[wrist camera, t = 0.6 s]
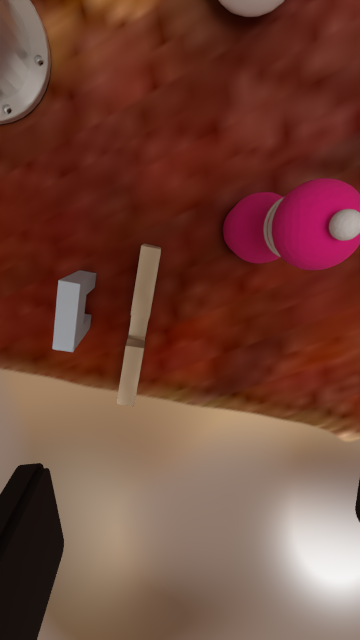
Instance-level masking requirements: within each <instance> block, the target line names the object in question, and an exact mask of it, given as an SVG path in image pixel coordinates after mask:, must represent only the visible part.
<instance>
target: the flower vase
mask: <svg viewBox="0 0 360 640" xmlns="http://www.w3.org/2000/svg"><path fill="white" fill-rule="evenodd" d="M218 1H219V2H220V3H221V4H222V6H224V7H225V8H226V9H227V10H228V11H230V12H231V13H233V14H236V15H239V16H243V17H258V16H261V15H264V14H267V13H269V12H271V11H273V10H274V9H275V8H277V7H278V6H279V5H281V4H282V3H283V2H284V1H285V0H218Z"/></svg>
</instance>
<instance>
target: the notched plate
mask: <svg viewBox="0 0 360 640" xmlns="http://www.w3.org/2000/svg"><path fill="white" fill-rule="evenodd" d="M95 282H96V273H92V272H86V271H81V270H79V271H77V272H75V273H73V274H71V275H69V276H66V277H64V278H62V279H60V280H58V291H57V303H56V314H55V326H54V337H53V349H55V350H62V351H69V352H73V351H74V350H75V349H76V347H77V346H78V344H79V343H80V341H81V340H82V339H83V337H84V336H85V334H86V333H87V331H88V330H89V329H90V323H91V315H90V314H84V313H85V304H86V295H87V294H88V293H89V292H90V291H91V290H92V289H94V288H95Z"/></svg>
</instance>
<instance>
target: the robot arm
mask: <svg viewBox="0 0 360 640" xmlns="http://www.w3.org/2000/svg"><path fill="white" fill-rule="evenodd" d="M41 63H43V65H42V66H40V64H41ZM50 69H51V56H50V47H49V42H48V37H47V34H46V31H45V28H44V26H43V23H42V21H41V19H40V17H39V15H38V13H37V11H36V9H35V7H34V5H33V4H32V2H31V1H30V0H0V124H6V123H11V122H14V121H16V120H19V119H21V118H23V117H24V116H26V115H27V114H28V113H30V112H31V111H32V110H33V109H34V108H35V107H36V105H37V104H38V103H39V102H40V100H41V98H42V97H43V95H44V93H45V91H46V88H47V84H48V81H49V78H50ZM10 110H12V111H11V113H10V114H9V111H10ZM355 508H356V509H355V510H356V514H357V518H358V520H359V522H360V480H359V486H358V493H357V500H356V507H355ZM63 548H64V539H63V533H62V528H61V524H60V519H59V514H58V509H57V504H56V499H55V494H54V489H53V485H52V480H51V475H50V471H49V469H48V468H45V469H44V468H43V465H42V464H40V463H37V464H26V465H20V466H18V467H17V468H16V470H15V472H14V473H13V475H12V476H11V478H10V479H9V481H8V483H7V484H6V486H5V488H4V489H3V491H2V493H1V494H0V640H37V637H38V634H39V631H40V627H41V624H42V621H43V617H44V614H45V611H46V607H47V604H48V601H49V597H50V594H51V590H52V587H53V584H54V580H55V577H56V574H57V570H58V567H59V564H60V561H61V557H62V553H63Z"/></svg>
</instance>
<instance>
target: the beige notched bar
mask: <svg viewBox="0 0 360 640" xmlns="http://www.w3.org/2000/svg"><path fill="white" fill-rule="evenodd" d="M160 254H161V247H158V246H153V245H148V244H143V245H141V251H140V258H139V264H138V270H137V277H136V283H135V290H134V296H133V302H132V309H131V315H132V317H131V323H130V329H129V335H128V339H127V343H126V347H125V354H124V360H123V366H122V373H121V379H120V386H119V392H118V398H117V404H122V405H131V406H134V403H135V397H136V392H137V386H138V380H139V374H140V369H141V363H142V357H143V352H144V344H145V336H146V330H147V324H148V318H149V317H150V311H151V306H152V300H153V294H154V288H155V283H156V277H157V271H158V265H159V260H160Z"/></svg>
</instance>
